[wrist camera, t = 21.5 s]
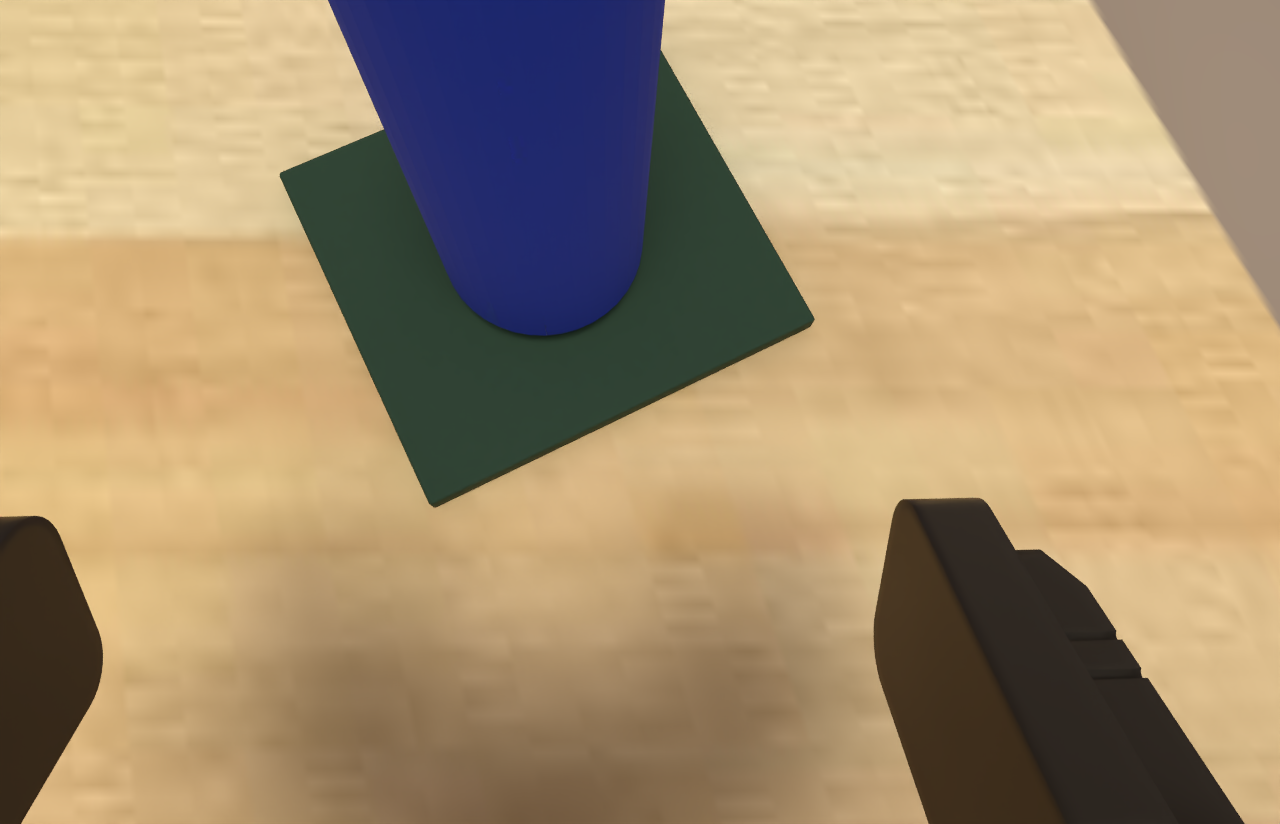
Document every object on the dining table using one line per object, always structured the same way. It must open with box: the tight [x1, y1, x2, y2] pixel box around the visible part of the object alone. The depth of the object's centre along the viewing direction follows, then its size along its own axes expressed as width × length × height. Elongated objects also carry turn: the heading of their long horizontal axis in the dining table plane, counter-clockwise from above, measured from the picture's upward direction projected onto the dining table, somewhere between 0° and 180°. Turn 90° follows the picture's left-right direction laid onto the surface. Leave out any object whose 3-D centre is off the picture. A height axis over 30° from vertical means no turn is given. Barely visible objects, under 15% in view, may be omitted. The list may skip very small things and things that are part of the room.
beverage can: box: [328, 0, 665, 336], centre depth 17 cm, size 5×5×15 cm
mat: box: [280, 50, 814, 507], centre depth 25 cm, size 11×10×1 cm
